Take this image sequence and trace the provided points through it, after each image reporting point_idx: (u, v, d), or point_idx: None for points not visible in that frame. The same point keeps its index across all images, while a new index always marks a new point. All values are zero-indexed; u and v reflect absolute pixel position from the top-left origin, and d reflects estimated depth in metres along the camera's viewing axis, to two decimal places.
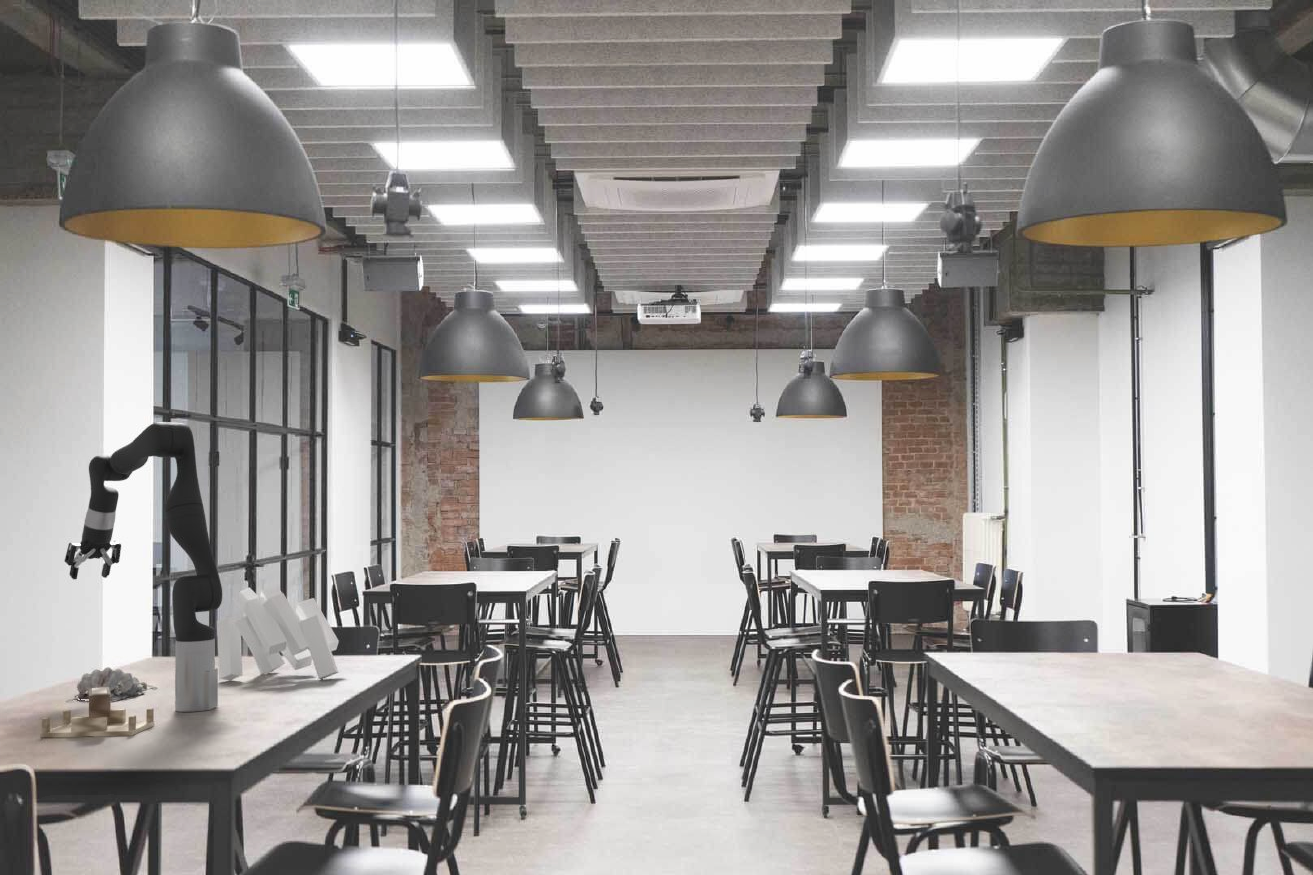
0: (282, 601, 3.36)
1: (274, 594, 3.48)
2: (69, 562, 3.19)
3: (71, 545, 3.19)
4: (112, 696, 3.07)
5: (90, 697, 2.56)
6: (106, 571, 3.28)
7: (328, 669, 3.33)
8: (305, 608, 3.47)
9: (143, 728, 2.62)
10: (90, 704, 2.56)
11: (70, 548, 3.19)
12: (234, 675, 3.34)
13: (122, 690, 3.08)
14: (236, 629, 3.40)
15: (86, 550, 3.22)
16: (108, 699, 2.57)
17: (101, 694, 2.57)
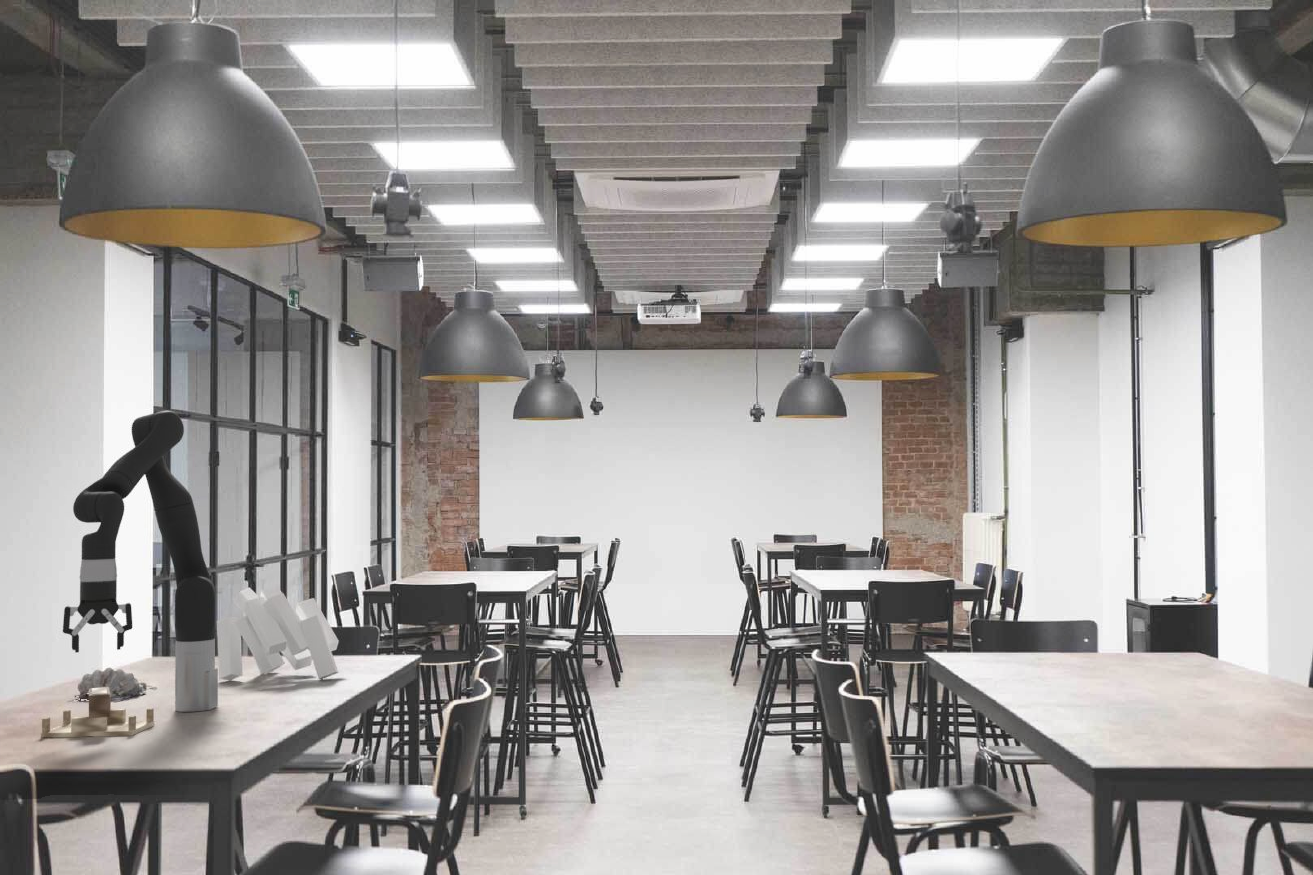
0: (282, 601, 3.36)
1: (274, 594, 3.48)
2: None
3: (130, 604, 2.66)
4: (114, 696, 3.07)
5: (90, 697, 2.56)
6: None
7: (328, 669, 3.33)
8: (306, 608, 3.47)
9: (143, 728, 2.62)
10: (90, 704, 2.56)
11: None
12: (234, 675, 3.34)
13: (124, 690, 3.08)
14: (236, 629, 3.40)
15: None
16: (108, 699, 2.57)
17: (101, 694, 2.57)
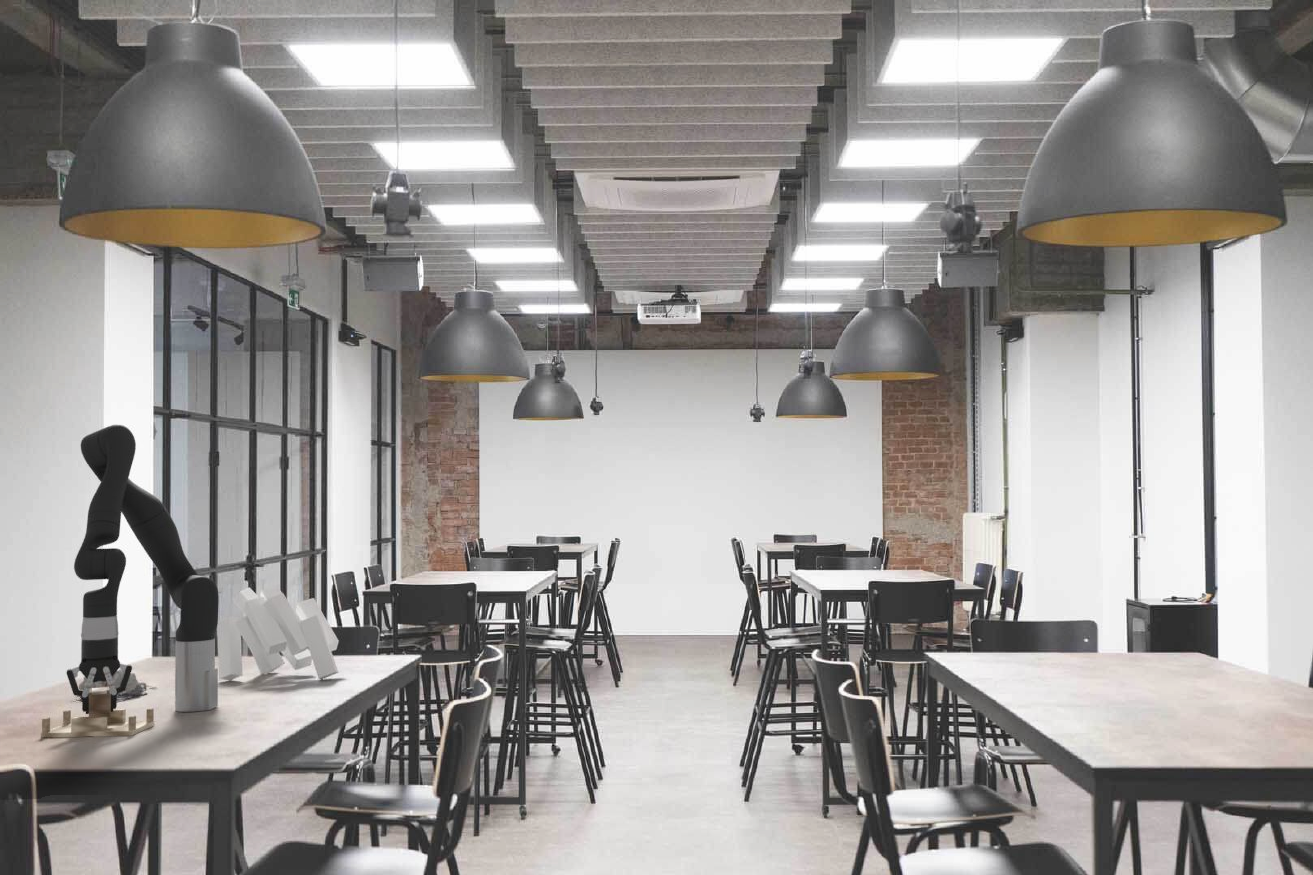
0: (282, 601, 3.36)
1: (274, 594, 3.48)
2: None
3: (131, 666, 2.66)
4: None
5: (90, 697, 2.56)
6: None
7: (328, 669, 3.33)
8: (305, 608, 3.47)
9: (143, 728, 2.62)
10: (90, 704, 2.56)
11: None
12: (234, 675, 3.34)
13: (126, 690, 3.09)
14: (236, 629, 3.40)
15: None
16: (108, 699, 2.57)
17: (101, 694, 2.57)
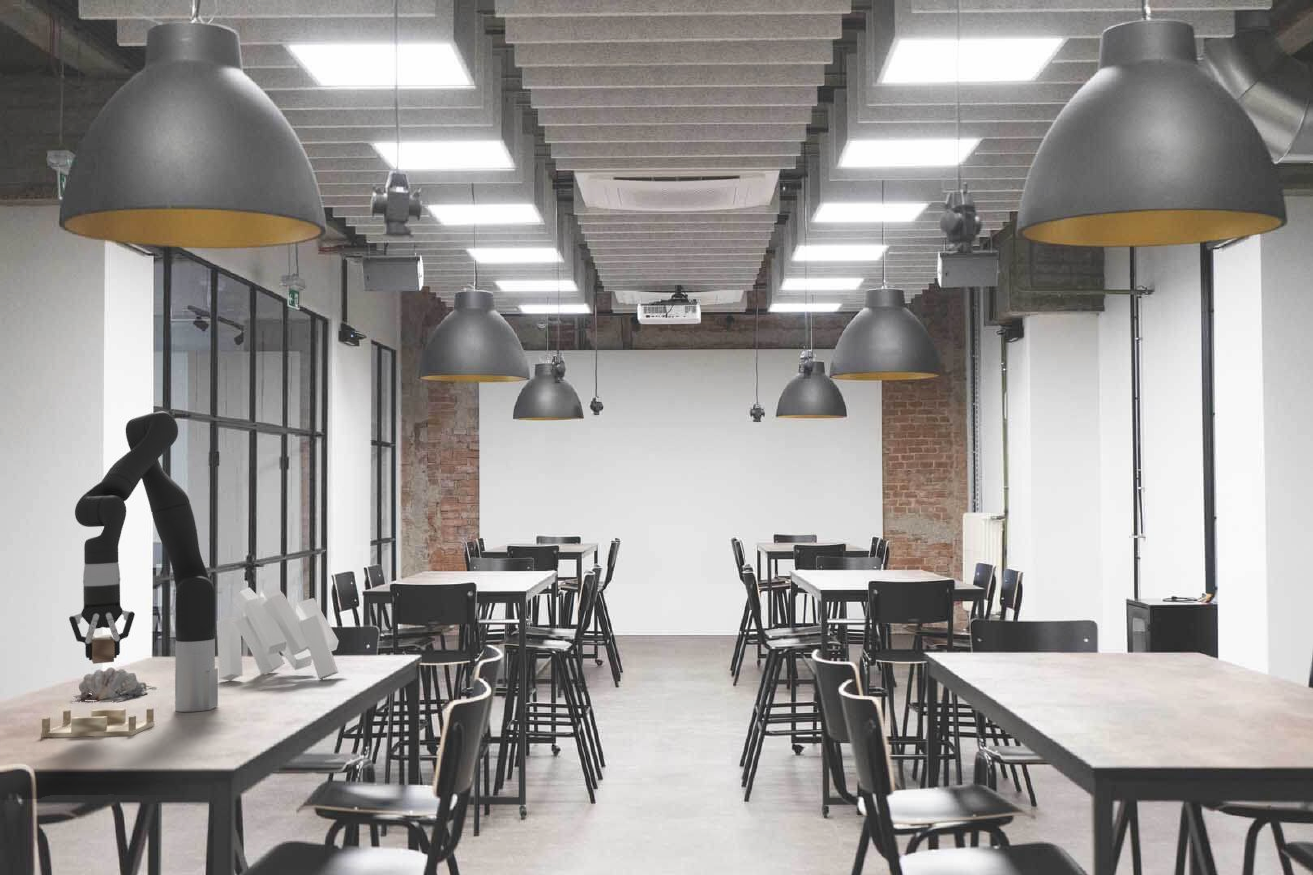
0: (282, 601, 3.36)
1: (274, 594, 3.48)
2: None
3: None
4: (117, 696, 3.07)
5: (94, 642, 2.56)
6: None
7: (328, 669, 3.33)
8: (305, 608, 3.47)
9: (143, 728, 2.62)
10: (94, 649, 2.56)
11: None
12: (234, 675, 3.34)
13: (127, 690, 3.08)
14: (236, 629, 3.40)
15: None
16: (112, 644, 2.58)
17: (105, 639, 2.58)
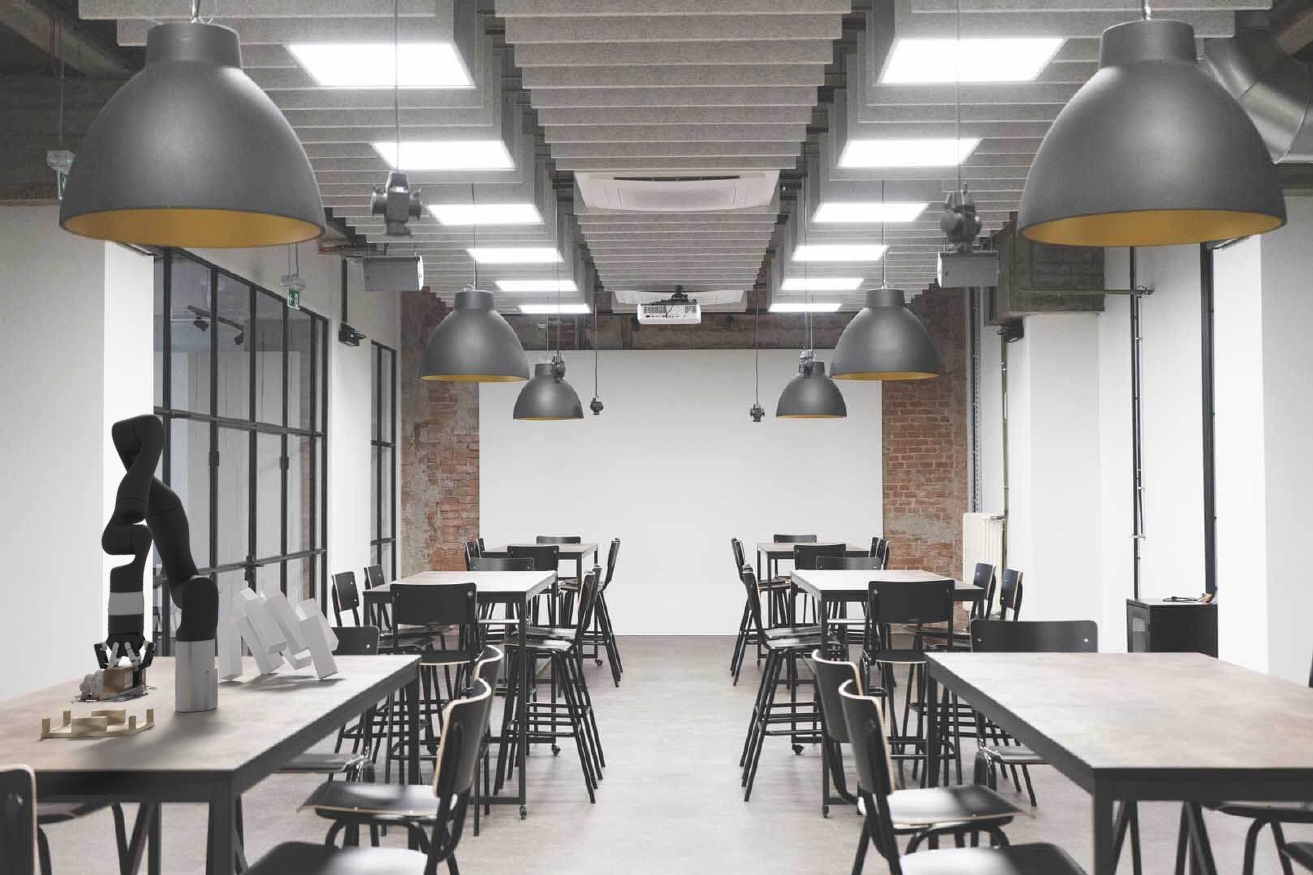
0: (282, 601, 3.36)
1: (274, 594, 3.48)
2: None
3: (155, 644, 2.63)
4: (118, 696, 3.07)
5: (104, 672, 2.56)
6: None
7: (328, 669, 3.33)
8: (305, 608, 3.47)
9: (143, 728, 2.62)
10: (104, 679, 2.56)
11: (154, 647, 2.63)
12: (234, 675, 3.34)
13: (128, 690, 3.08)
14: (236, 629, 3.40)
15: None
16: (121, 675, 2.56)
17: (115, 669, 2.57)
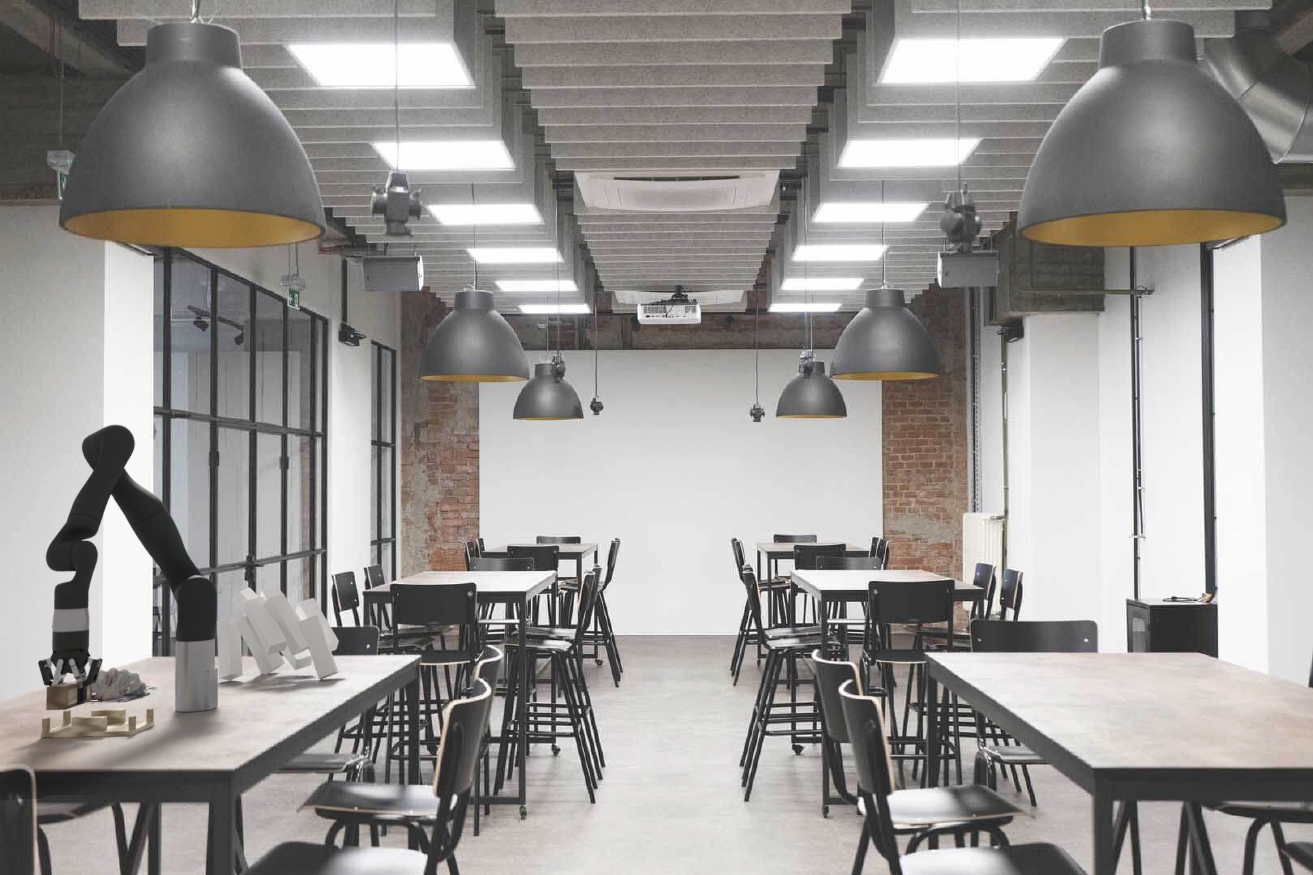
0: (282, 601, 3.36)
1: (274, 594, 3.48)
2: None
3: (100, 660, 2.63)
4: (121, 696, 3.07)
5: (48, 689, 2.56)
6: None
7: (328, 669, 3.33)
8: (305, 608, 3.47)
9: (143, 728, 2.62)
10: (47, 696, 2.56)
11: (99, 664, 2.63)
12: (234, 675, 3.34)
13: (131, 690, 3.08)
14: (236, 629, 3.40)
15: None
16: (64, 692, 2.56)
17: (59, 686, 2.57)
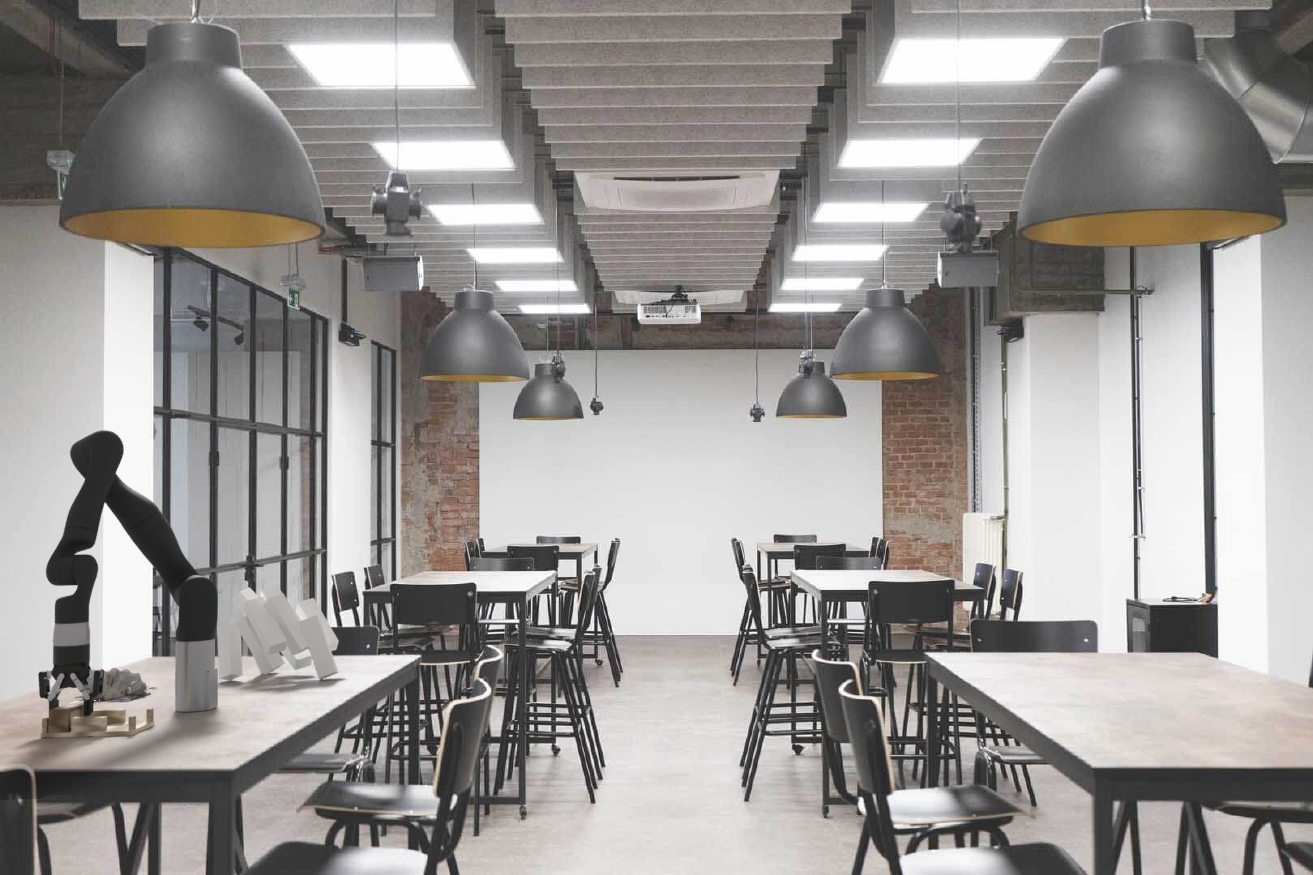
0: (282, 601, 3.36)
1: (274, 594, 3.48)
2: None
3: (101, 670, 2.63)
4: (122, 696, 3.07)
5: (50, 712, 2.56)
6: None
7: (328, 669, 3.33)
8: (305, 608, 3.47)
9: (143, 728, 2.62)
10: (50, 719, 2.55)
11: (102, 674, 2.63)
12: (234, 675, 3.34)
13: (132, 690, 3.09)
14: (236, 629, 3.40)
15: None
16: (66, 715, 2.56)
17: (61, 709, 2.56)
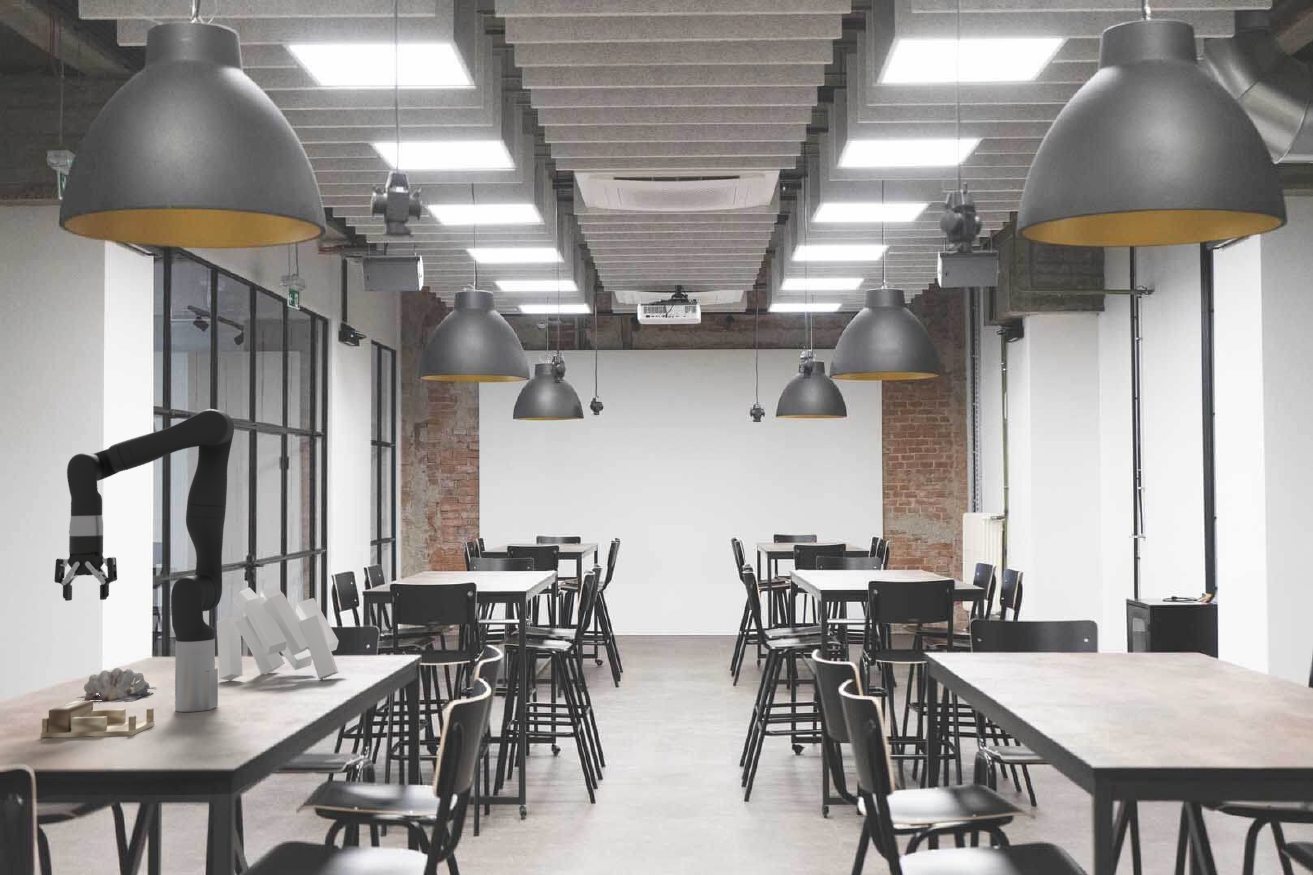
0: (282, 601, 3.36)
1: (274, 594, 3.48)
2: None
3: (114, 558, 2.86)
4: (126, 696, 3.07)
5: (50, 712, 2.56)
6: None
7: (328, 669, 3.33)
8: (305, 608, 3.47)
9: (143, 728, 2.62)
10: (50, 719, 2.55)
11: (114, 561, 2.86)
12: (234, 675, 3.34)
13: (136, 690, 3.09)
14: (236, 629, 3.40)
15: None
16: (66, 715, 2.56)
17: (61, 709, 2.56)
